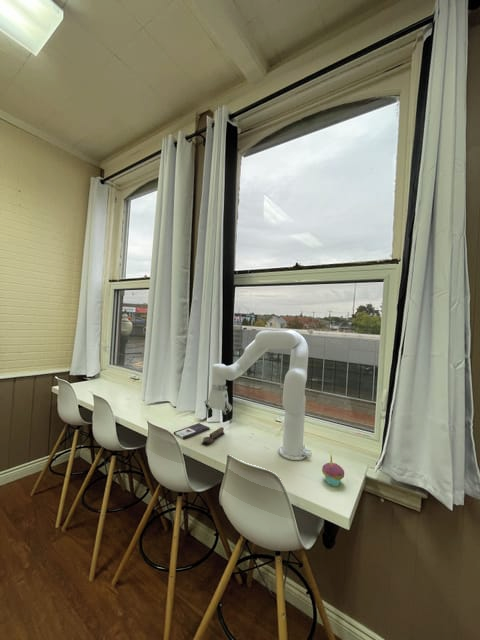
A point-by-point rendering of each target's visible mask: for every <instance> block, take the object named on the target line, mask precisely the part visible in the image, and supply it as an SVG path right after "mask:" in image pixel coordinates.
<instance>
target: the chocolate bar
mask: <svg viewBox="0 0 480 640" xmlns="http://www.w3.org/2000/svg"><path fill="white" fill-rule="evenodd" d="M209 430H210V427H209V426H207V425H205V424H202V423H200V422H198V423H195V424H191V425H189V426H187V427H184V428H181V429H177V430H176V431H173V434H174V435H175V436H178V437H180V439H181V438H182V439H183V440H185V439H189V438H191V437H194V436H196V435H198V434H199V435H200V434H201V433H203V432H206V431H209Z"/></svg>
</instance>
